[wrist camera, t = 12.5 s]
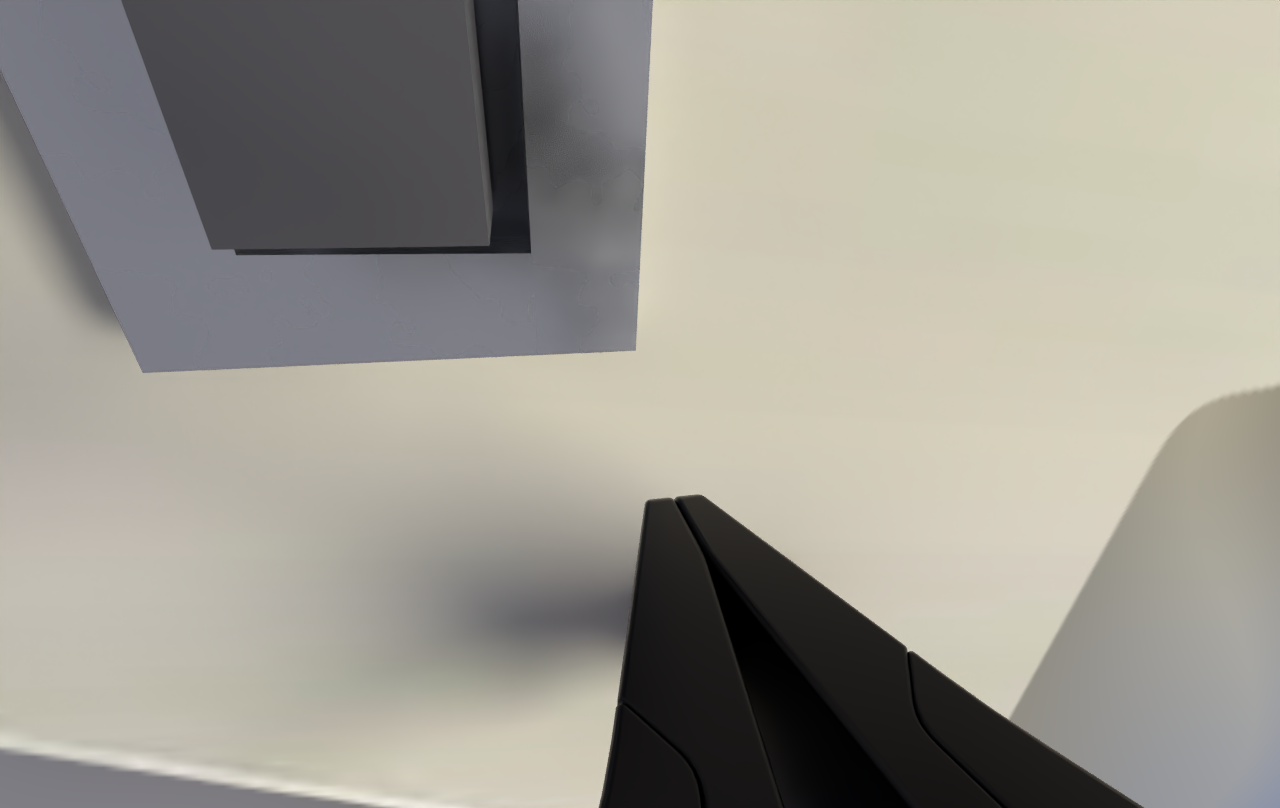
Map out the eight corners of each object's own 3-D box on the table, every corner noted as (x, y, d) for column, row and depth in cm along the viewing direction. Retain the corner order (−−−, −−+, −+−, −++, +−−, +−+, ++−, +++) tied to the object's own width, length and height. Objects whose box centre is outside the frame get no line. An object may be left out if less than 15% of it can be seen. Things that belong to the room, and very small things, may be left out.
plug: (493, 201, 15) (489, 246, 11) (299, 201, 14) (212, 249, 10) (467, -77, 12) (447, -163, 8) (217, -103, 11) (41, -219, 7)
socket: (623, 326, 18) (639, 358, 16) (182, 341, 15) (129, 383, 13) (646, -305, 11) (680, -401, 9) (-157, -478, 8) (-392, -677, 6)
